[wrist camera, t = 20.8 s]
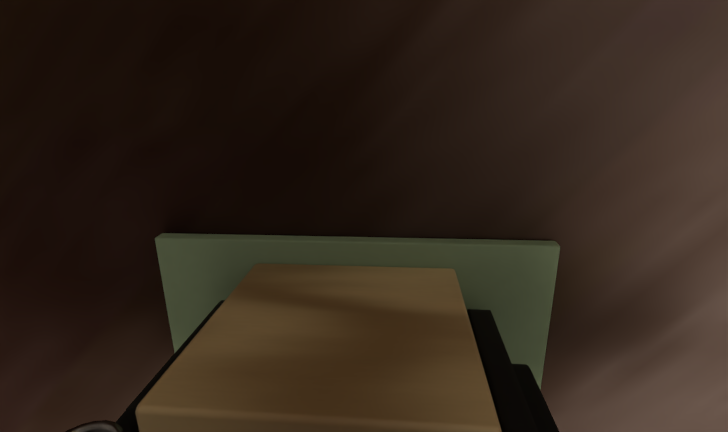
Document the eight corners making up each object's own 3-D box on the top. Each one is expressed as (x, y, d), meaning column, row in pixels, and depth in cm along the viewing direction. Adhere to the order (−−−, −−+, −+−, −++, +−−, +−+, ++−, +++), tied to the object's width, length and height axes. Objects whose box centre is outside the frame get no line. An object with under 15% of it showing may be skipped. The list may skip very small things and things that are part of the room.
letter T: (270, 420, 12) (177, 658, 7) (255, 261, 10) (121, 420, 5) (445, 431, 11) (479, 693, 6) (455, 267, 10) (507, 443, 5)
